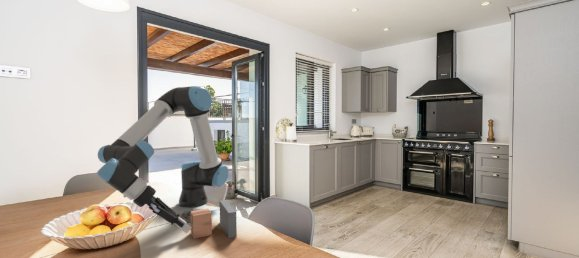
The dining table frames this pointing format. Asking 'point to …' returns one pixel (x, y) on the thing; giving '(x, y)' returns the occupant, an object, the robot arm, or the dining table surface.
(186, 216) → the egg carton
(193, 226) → the terracotta block
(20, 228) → the dining table surface
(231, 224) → the grey board
